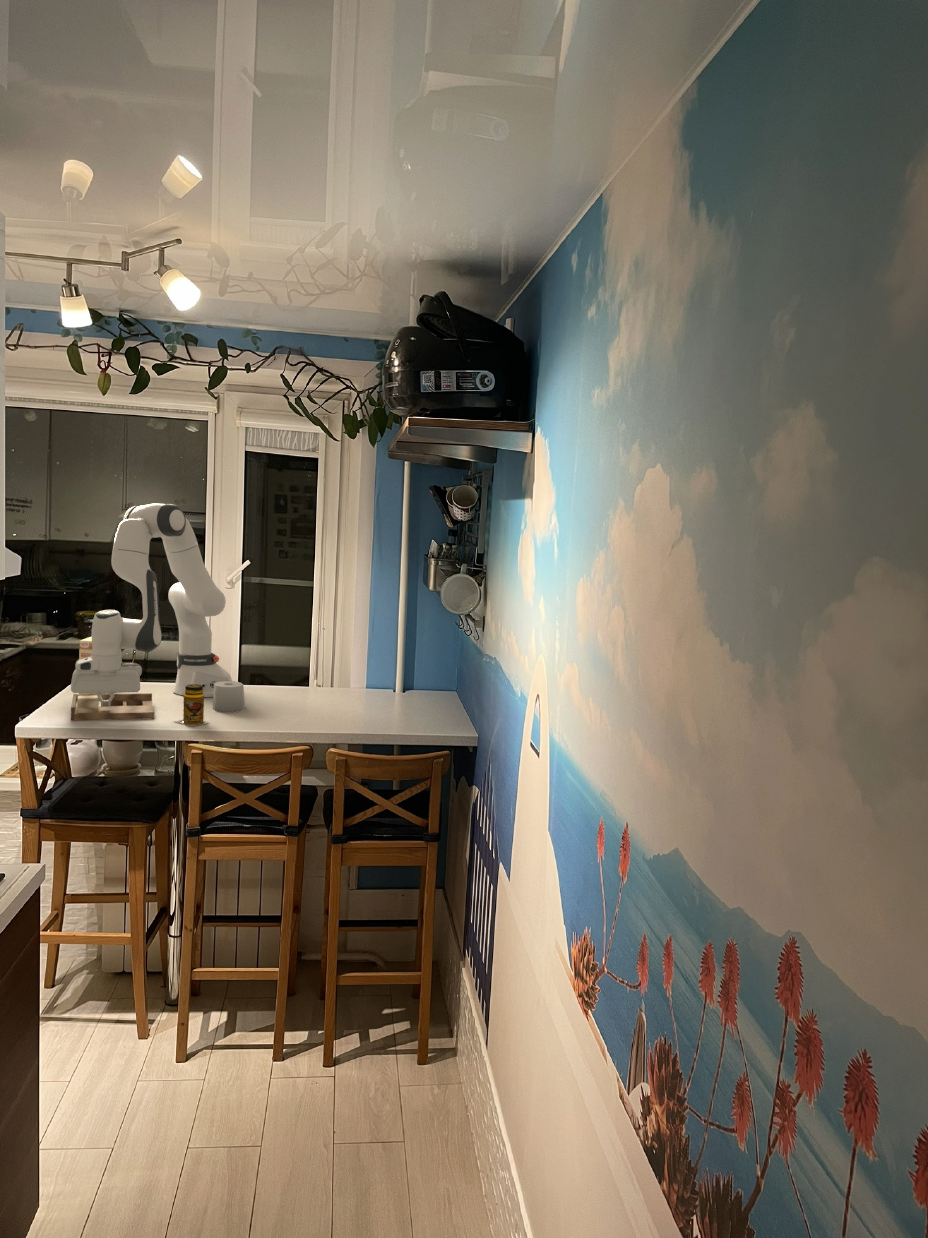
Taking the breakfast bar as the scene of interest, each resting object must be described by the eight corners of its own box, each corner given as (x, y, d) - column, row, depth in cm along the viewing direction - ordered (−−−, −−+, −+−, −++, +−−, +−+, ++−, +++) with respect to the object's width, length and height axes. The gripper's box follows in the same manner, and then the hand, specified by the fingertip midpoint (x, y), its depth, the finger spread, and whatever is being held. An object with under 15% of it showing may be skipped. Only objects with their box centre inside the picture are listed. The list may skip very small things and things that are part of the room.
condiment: (191, 727, 280) (192, 689, 278) (173, 722, 284) (174, 684, 283) (210, 723, 286) (211, 685, 284) (192, 718, 290) (193, 681, 289)
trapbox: (151, 704, 303) (151, 693, 303) (153, 718, 286) (154, 706, 286) (73, 706, 294) (73, 694, 294) (70, 720, 278) (71, 707, 277)
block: (98, 707, 287) (98, 695, 286) (98, 712, 282) (98, 699, 281) (77, 708, 285) (78, 695, 284) (77, 712, 279) (77, 700, 279)
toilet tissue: (248, 704, 312) (249, 680, 311) (236, 713, 299) (237, 688, 298) (223, 702, 313) (223, 678, 312) (209, 711, 300) (210, 686, 299)
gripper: (141, 660, 290) (140, 703, 292) (71, 660, 282) (71, 704, 284) (142, 664, 284) (141, 708, 286) (70, 664, 277) (70, 709, 278)
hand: (105, 706), depth 285 cm, fingers closed
